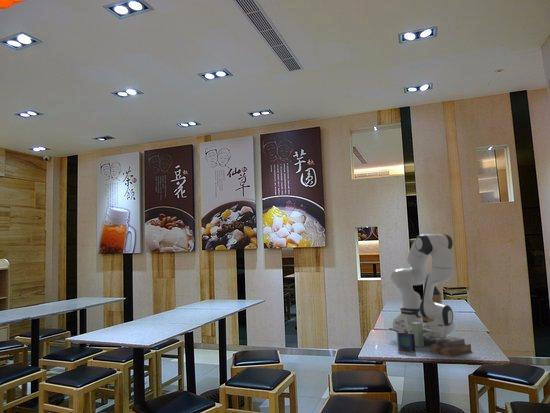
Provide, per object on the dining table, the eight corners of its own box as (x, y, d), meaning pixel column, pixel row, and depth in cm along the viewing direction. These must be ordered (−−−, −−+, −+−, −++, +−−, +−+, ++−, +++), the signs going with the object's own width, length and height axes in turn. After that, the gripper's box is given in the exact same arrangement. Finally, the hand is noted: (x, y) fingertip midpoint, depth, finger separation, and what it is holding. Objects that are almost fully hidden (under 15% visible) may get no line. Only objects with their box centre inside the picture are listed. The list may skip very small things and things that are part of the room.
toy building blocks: (443, 321, 284) (440, 284, 287) (437, 325, 269) (435, 287, 271) (424, 319, 291) (422, 284, 293) (418, 324, 275) (415, 287, 278)
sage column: (412, 345, 219) (411, 322, 220) (417, 344, 221) (415, 322, 222) (419, 347, 216) (417, 323, 217) (423, 345, 218) (422, 322, 219)
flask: (397, 349, 212) (395, 328, 213) (399, 348, 214) (398, 327, 215) (414, 352, 206) (412, 330, 207) (416, 351, 208) (415, 329, 209)
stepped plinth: (430, 352, 205) (430, 339, 206) (449, 346, 214) (448, 334, 215) (452, 356, 195) (451, 343, 196) (471, 351, 204) (470, 338, 205)
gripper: (416, 321, 235) (400, 324, 227) (448, 326, 218) (432, 330, 211) (416, 332, 234) (401, 336, 227) (449, 338, 218) (433, 342, 210)
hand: (416, 333), depth 218 cm, fingers open, 8 cm apart
